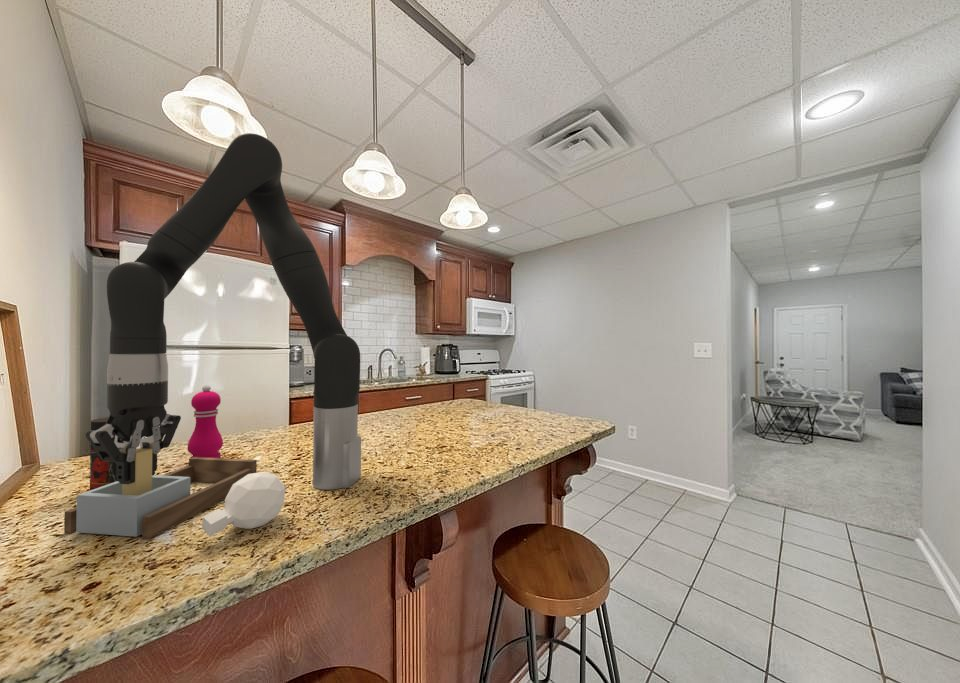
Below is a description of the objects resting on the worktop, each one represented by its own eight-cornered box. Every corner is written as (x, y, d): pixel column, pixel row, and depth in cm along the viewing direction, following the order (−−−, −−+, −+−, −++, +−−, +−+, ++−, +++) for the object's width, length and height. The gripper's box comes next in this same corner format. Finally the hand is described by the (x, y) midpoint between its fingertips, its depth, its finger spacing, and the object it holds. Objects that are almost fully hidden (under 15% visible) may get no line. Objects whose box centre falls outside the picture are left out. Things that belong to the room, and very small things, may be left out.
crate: (190, 509, 64) (190, 444, 64) (136, 536, 55) (137, 460, 55) (137, 506, 65) (137, 442, 65) (76, 532, 56) (77, 458, 56)
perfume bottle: (264, 495, 66) (190, 534, 55) (268, 454, 64) (191, 486, 53) (294, 518, 63) (221, 564, 52) (299, 476, 60) (224, 514, 50)
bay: (256, 482, 77) (256, 459, 77) (148, 539, 54) (149, 507, 54) (193, 479, 78) (194, 457, 78) (64, 533, 56) (64, 502, 56)
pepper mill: (229, 458, 93) (230, 383, 93) (205, 467, 86) (206, 387, 86) (205, 457, 93) (206, 383, 94) (179, 466, 86) (180, 386, 86)
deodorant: (137, 487, 74) (138, 417, 74) (99, 498, 68) (100, 423, 68) (121, 483, 76) (122, 415, 76) (82, 494, 70) (83, 420, 70)
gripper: (110, 385, 52) (109, 498, 52) (195, 376, 66) (194, 466, 66) (68, 384, 53) (66, 496, 53) (160, 375, 67) (159, 464, 67)
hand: (137, 479), depth 60 cm, fingers closed on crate, 2 cm apart
